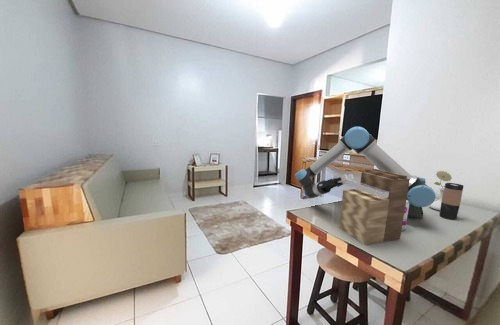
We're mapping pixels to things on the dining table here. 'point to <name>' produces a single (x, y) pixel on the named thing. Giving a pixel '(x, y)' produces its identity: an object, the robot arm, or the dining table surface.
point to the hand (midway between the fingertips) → (349, 176)
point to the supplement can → (405, 215)
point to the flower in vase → (443, 177)
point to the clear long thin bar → (365, 187)
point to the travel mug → (451, 201)
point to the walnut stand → (375, 208)
